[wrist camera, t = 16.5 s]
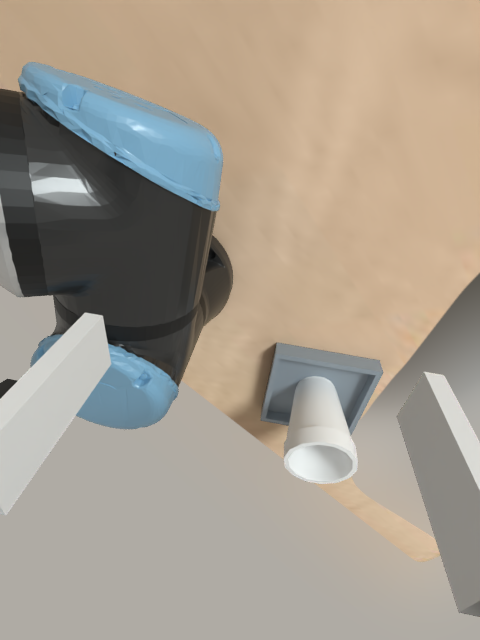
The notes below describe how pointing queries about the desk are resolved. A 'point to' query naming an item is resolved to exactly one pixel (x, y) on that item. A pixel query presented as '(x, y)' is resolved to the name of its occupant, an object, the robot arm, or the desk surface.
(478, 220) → the desk surface
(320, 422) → the foam cup
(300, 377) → the grey tray
